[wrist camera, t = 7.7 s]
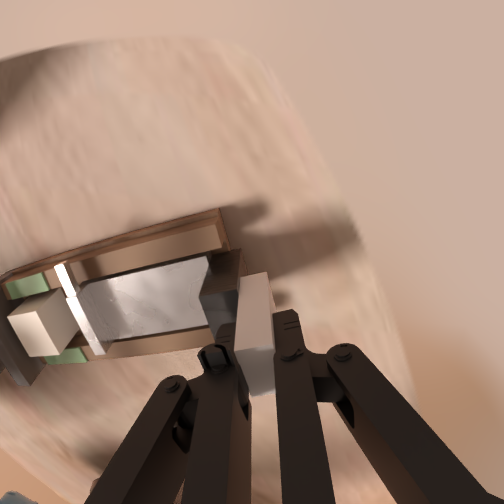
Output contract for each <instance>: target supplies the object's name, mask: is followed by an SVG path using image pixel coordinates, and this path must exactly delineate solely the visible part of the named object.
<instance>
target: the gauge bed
mask: <svg viewBox="0 0 504 504" xmlns="http://www.w3.org/2000/svg"><path fill="white" fill-rule="evenodd" d="M210 250H211V254H212V255H214V254H218V253H223V252H227V251H231V249H230V245H229V242H228V238H227V235H226V231H225V227H224V224H223V220H222V217H221V213H220V210H219V208H218V209H214V210H210V211H206V212H202V213H198V214H194V215H191V216H187V217H183V218H179V219H176V220H172V221H168V222H165V223H161V224H158V225H154V226H150V227H147V228H143V229H140V230H136V231H133V232H129V233H126V234H123V235H119V236H116V237H113V238H109V239H106V240H103V241H99V242H96V243H93V244H90V245H86V246H83V247H80V248H77V249H74V250H71V251H67V252H64V253H61V254H58V255H55V256H52V257H49V258H46V259H43V260H40V261H37V262H34V263H31V264H28V265H25V266H23V267H20V268H17V269H14V270H11V271H8V272H6V273H5V274H3V275H2V276H0V359H1V361H2V362H3V364H4V365H5V367H6V368H7V370H8V372H9V373H10V375H11V376H12V377H13V379H14V380H15V382H16V383H17V385H19V386H31V384H32V383H33V381H34V380H35V379H36V377H37V376H38V374H39V373H40V372H41V370H42V369H43V368H44V366H45V365H46V364H49V365H53V364H70V363H85V362H88V361H93V360H104V359H114V358H124V357H133V356H142V355H150V354H158V353H165V352H172V351H179V350H186V349H193V348H199V347H205V346H207V345H209V344H212V343H215V340H214V338H213V335H212V333H211V330H210V327H209V325H202V326H197V327H191V328H185V329H179V330H173V331H167V332H161V333H155V334H148V335H142V336H135V337H128V338H121V339H115V340H114V341H113V343H112V345H111V347H110V348H109V350H108V352H107V353H106V354H104V355H95V354H94V352H93V350H92V348H91V347H90V345H89V343H88V341H87V339H86V338H85V336H84V334H83V332H82V330H81V328H80V329H79V330H78V331H77V333H76V334H75V335H74V337H73V338H72V339H71V341H70V342H69V343H68V345H67V346H66V347H65V349H64V350H63V351H62V353H61V354H60V355H51V356H37V357H30V356H29V355H28V353H27V352H26V350H25V348H24V347H23V345H22V343H21V341H20V340H19V338H18V336H17V334H16V333H15V331H14V329H13V327H12V325H11V323H10V322H9V320H8V318H7V316H9V315H10V314H11V313H12V312H13V311H14V310H15V309H16V308H17V307H18V306H19V305H20V304H22V303H23V302H24V301H25V300H26V299H27V298H28V297H29V296H30V295H33V294H37V293H41V292H45V291H49V290H52V289H56V288H60V287H61V289H62V291H63V294H64V296H65V298H67V297H68V296H67V294H66V292H65V290H64V287H63V285H62V283H61V281H60V278H59V276H58V274H57V271H56V269H55V266H56V265H57V264H59V263H61V262H64V261H67V260H68V262H69V264H70V267H71V269H72V271H73V274H74V276H75V278H76V281H77V283H78V285H80V284H81V283H82V282H83V281H86V280H90V279H94V278H98V277H102V276H106V275H110V274H114V273H118V272H122V271H126V270H130V269H135V268H139V267H143V266H147V265H151V264H155V263H159V262H163V261H168V260H172V259H176V258H180V257H184V256H189V255H193V254H197V253H201V252H205V251H210Z"/></svg>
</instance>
